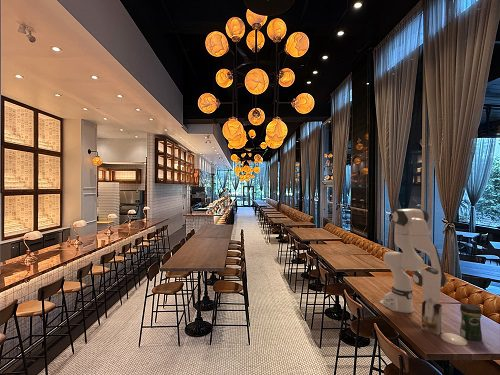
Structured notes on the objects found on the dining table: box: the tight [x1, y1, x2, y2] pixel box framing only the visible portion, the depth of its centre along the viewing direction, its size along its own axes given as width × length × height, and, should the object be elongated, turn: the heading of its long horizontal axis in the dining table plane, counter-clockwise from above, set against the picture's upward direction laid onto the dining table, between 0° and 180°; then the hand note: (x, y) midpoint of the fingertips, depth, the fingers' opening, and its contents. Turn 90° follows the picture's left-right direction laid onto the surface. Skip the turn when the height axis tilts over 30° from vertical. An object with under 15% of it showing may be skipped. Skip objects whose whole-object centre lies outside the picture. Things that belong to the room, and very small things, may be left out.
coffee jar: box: [459, 303, 483, 341], centre depth 163 cm, size 10×8×19 cm
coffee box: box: [421, 300, 443, 335], centre depth 170 cm, size 9×6×16 cm
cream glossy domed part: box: [440, 332, 468, 347], centre depth 159 cm, size 12×12×1 cm
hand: (431, 319), depth 170 cm, fingers closed on coffee box, 7 cm apart
